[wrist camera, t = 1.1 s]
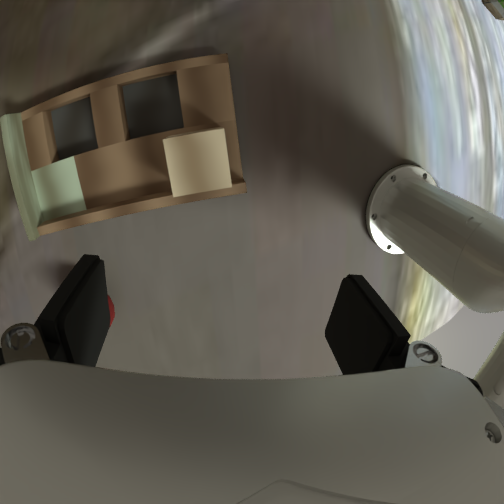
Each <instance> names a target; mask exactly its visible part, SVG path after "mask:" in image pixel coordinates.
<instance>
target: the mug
mask: <svg viewBox="0 0 504 504" xmlns="http://www.w3.org/2000/svg"><path fill="white" fill-rule="evenodd" d="M482 2H483V4H484V5H485V7H486V8H487V9H488V10H489V11H490V12H491V14H492V15H493V16H494V17H495V18H496V19H499V20H504V0H482Z"/></svg>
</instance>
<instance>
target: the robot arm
mask: <svg viewBox="0 0 504 504" xmlns="http://www.w3.org/2000/svg"><path fill="white" fill-rule="evenodd" d="M366 224H367V229H368V232H369V235H370V236H371V238H372V240H373V241H374V242H375V244H376V245H377V246H379V247H380V248H381V249H382V250H384V251H386V252H388V253H392V254H401V253H405V254H406V255H408V256H409V257H410V258H411V259H413V260H414V261H415V262H416V263H417V264H419V265H420V266H421V267H422V268H423V269H424V270H426V271H427V272H428V273H429V274H430V275H431V276H433V277H434V278H435V279H436V280H437V281H438V282H439V283H441V284H442V285H443V286H444V287H445V288H446V289H447V290H448V291H450V292H451V293H452V294H453V295H454V296H455V297H456V298H457V299H459V300H460V301H461V302H462V303H463V304H464V305H465V306H467V307H468V308H469V309H471V310H473V311H476V312H479V313H493V312H499V311H504V219H502V218H501V217H498V216H496V215H494V214H493V213H491V212H489V211H487V210H485V209H483V208H481V207H479V206H477V205H475V204H473V203H471V202H469V201H467V200H465V199H463V198H461V197H458V196H456V195H454V194H452V193H450V192H448V191H445V190H443V189H441V188H439V187H437V185H436V183H435V181H434V179H433V177H432V176H431V175H430V174H429V173H428V172H427V171H426V170H424V169H423V168H420V167H418V166H414V165H400V166H397V167H395V168H393V169H391V170H389V171H388V172H387V173H385V174H384V175H383V176H382V177H381V178H380V180H379V181H378V182H377V183H376V185H375V187H374V188H373V190H372V192H371V195H370V197H369V200H368V204H367V209H366ZM110 322H111V317H110V310H109V303H108V296H107V287H106V278H105V268H104V261H103V260H100V258H99V256H98V255H87V254H84V255H83V256H82V258H81V259H80V260H79V261H78V263H77V264H76V265H75V267H74V268H73V269H72V271H71V272H70V273H69V274H68V276H67V277H66V279H65V280H64V281H63V283H62V284H61V285H60V287H59V288H58V290H57V291H56V292H55V294H54V295H53V297H52V298H51V299H50V301H49V302H48V304H47V305H46V307H45V308H44V310H43V311H42V313H41V314H40V316H39V317H38V319H37V321H36V322H35V324H34V325H33V324H29V323H19V324H15V325H13V326H11V327H9V328H8V329H7V330H6V331H5V332H4V333H3V335H2V337H1V347H2V348H0V504H504V332H503V334H502V335H501V337H500V339H499V340H498V342H497V344H496V345H495V347H494V348H493V350H492V352H491V353H490V355H489V356H488V358H487V359H486V361H485V362H484V364H483V365H482V367H481V368H480V370H479V371H478V373H477V374H476V376H475V377H474V379H470V378H468V377H466V376H464V375H463V374H462V373H460V372H458V371H455V370H452V369H448V368H446V367H444V366H442V358H441V354H440V352H439V351H438V350H437V349H436V348H435V347H434V346H432V345H431V344H429V343H427V342H424V341H413V342H412V343H411V344H409V343H408V340H409V338H410V336H411V335H410V334H409V333H408V331H407V330H406V329H405V327H404V326H403V325H402V324H401V322H400V321H399V320H398V318H397V317H396V316H395V315H394V313H393V312H392V311H391V310H390V308H389V307H388V306H387V305H386V303H385V302H384V301H383V300H382V299H381V297H380V296H379V295H378V294H377V292H376V291H375V290H374V289H373V288H372V286H371V285H370V284H369V283H368V282H367V280H366V279H365V278H364V277H363V276H362V275H350V274H349V275H347V277H346V278H343V280H342V282H341V285H340V289H339V292H338V295H337V298H336V301H335V304H334V306H333V309H332V312H331V315H330V318H329V321H328V323H327V326H326V329H325V337H326V340H327V342H328V344H329V346H330V348H331V350H332V352H333V354H334V356H335V359H336V361H337V363H338V365H339V367H340V369H341V371H342V373H343V375H338V376H326V377H312V378H293V379H210V378H191V377H177V376H164V375H153V374H144V373H135V372H127V371H120V370H113V369H106V368H100V367H95V366H96V363H97V360H98V357H99V354H100V351H101V349H102V346H103V343H104V340H105V338H106V335H107V332H108V330H109V327H110Z"/></svg>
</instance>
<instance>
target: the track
mask: <svg viewBox="0 0 504 504" xmlns="http://www.w3.org/2000/svg"><path fill="white" fill-rule="evenodd" d="M0 123H1V131H2V137H3V143H4V149H5V154H6V160H7V164H8V169H9V173H10V178H11V182H12V186H13V190H14V194H15V197H16V201H17V205H18V208H19V211H20V215H21V218H22V221H23V224H24V227H25V230H26V233H27V236H28V239H29V241H32V240H36V239H37V238H38V237H39V236H41V235H45V234H49V233H52V232H56V231H60V230H64V229H68V228H72V227H76V226H80V225H84V224H88V223H92V222H97V221H101V220H105V219H110V218H114V217H118V216H123V215H128V214H132V213H137V212H142V211H147V210H152V209H157V208H162V207H167V206H172V205H177V204H182V203H188V202H193V201H199V200H205V199H211V198H217V197H223V196H229V195H235V194H241V193H247V189H246V182H245V181H244V179H243V174H242V166H241V158H240V150H239V142H238V134H237V126H236V118H235V110H234V103H233V95H232V87H231V79H230V71H229V63H228V55H227V53H226V54H217V55H209V56H202V57H196V58H190V59H184V60H178V61H173V62H168V63H163V64H159V65H154V66H150V67H146V68H141V69H138V70H134V71H130V72H126V73H123V74H119V75H116V76H112V77H109V78H106V79H103V80H100V81H97V82H94V83H91V84H88V85H85V86H82V87H79V88H77V89H74V90H71V91H69V92H66V93H64V94H61V95H59V96H56V97H54V98H52V99H49V100H47V101H45V102H43V103H40V104H38V105H36V106H34V107H32V108H30V109H28V110H25V111H23V112H21V113H13V114H6V115H4V116H2V117H0ZM217 127H222V128H224V131H225V139H226V146H227V153H228V161H229V168H230V175H231V183H232V187H230V188H224V189H217V190H212V191H206V192H200V193H194V194H189V195H183V196H178V197H173V193H172V188H171V182H170V177H169V172H168V166H167V161H166V155H165V149H164V144H163V139H165V138H167V137H169V136H172V135H177V134H182V133H187V132H193V131H199V130H205V129H211V128H217Z"/></svg>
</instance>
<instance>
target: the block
mask: <svg viewBox="0 0 504 504" xmlns="http://www.w3.org/2000/svg"><path fill="white" fill-rule="evenodd" d="M163 144H164V149H165V155H166V161H167V166H168V172H169V177H170V182H171V188H172V193H173V197H178V196H183V195H189V194H194V193H200V192H206V191H212V190H217V189H224V188H230V187H232V183H231V175H230V168H229V161H228V153H227V146H226V139H225V131H224V128H222V127H217V128H211V129H205V130H199V131H193V132H187V133H182V134H177V135H172V136H169V137H167V138H165V139H163Z"/></svg>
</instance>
